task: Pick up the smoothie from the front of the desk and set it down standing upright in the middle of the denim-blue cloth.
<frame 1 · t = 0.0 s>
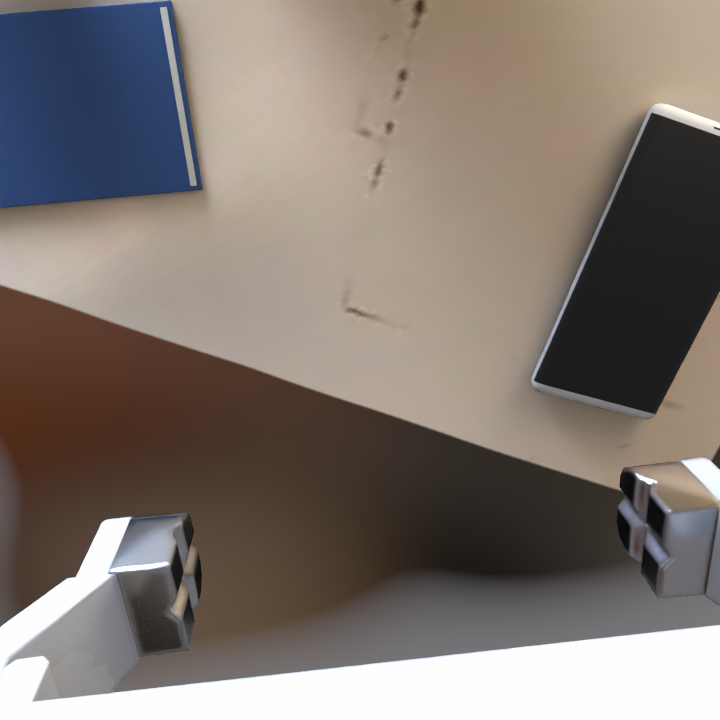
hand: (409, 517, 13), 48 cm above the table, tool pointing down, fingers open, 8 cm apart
smartphone: (645, 272, 62), on the table
cloth: (48, 111, 53), on the table
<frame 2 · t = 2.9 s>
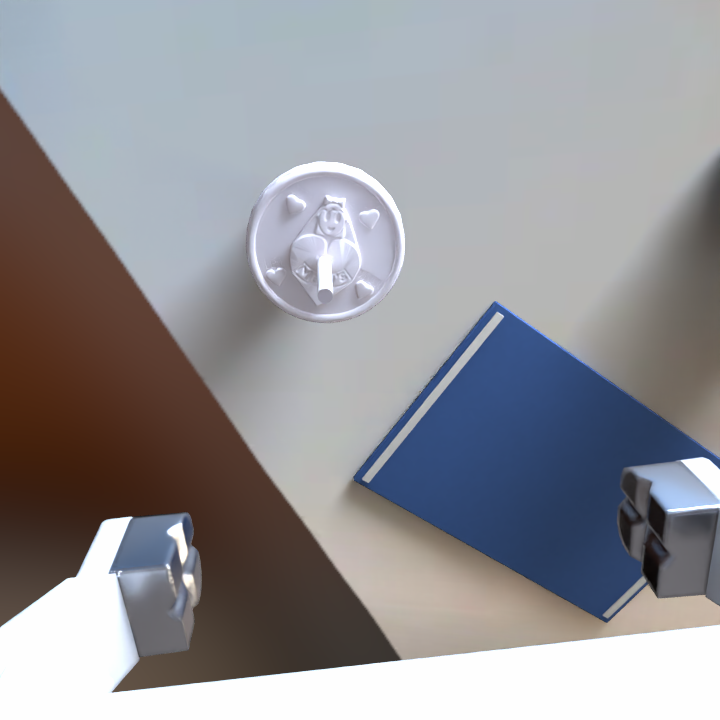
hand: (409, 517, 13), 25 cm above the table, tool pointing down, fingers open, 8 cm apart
smoothie: (323, 202, 36), on the table
cloth: (556, 478, 43), on the table
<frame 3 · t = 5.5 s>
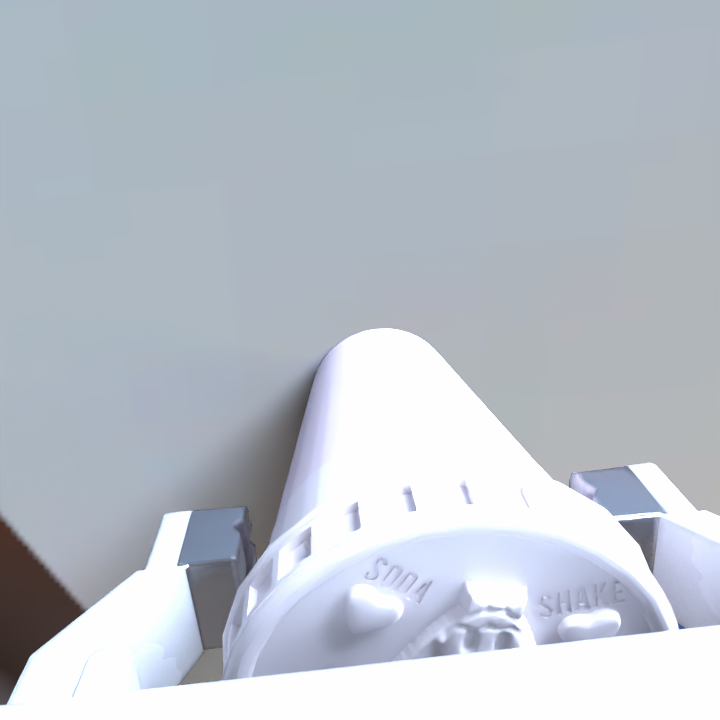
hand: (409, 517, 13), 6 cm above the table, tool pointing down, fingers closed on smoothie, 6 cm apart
smoothie: (380, 390, 18), on the table, touching gripper
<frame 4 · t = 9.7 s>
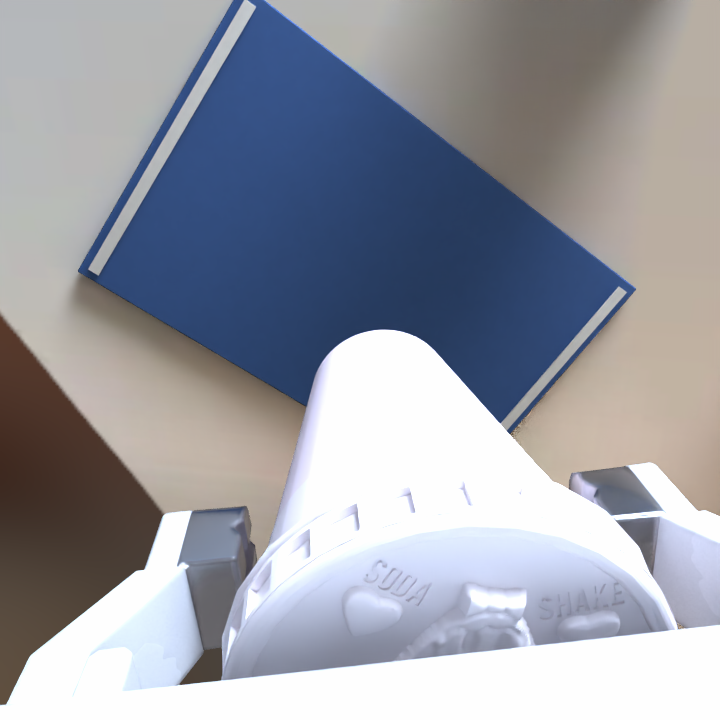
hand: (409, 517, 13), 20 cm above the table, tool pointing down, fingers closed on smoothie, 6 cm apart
smoothie: (380, 391, 18), point 14 cm above the table, touching gripper
cloth: (366, 278, 32), on the table
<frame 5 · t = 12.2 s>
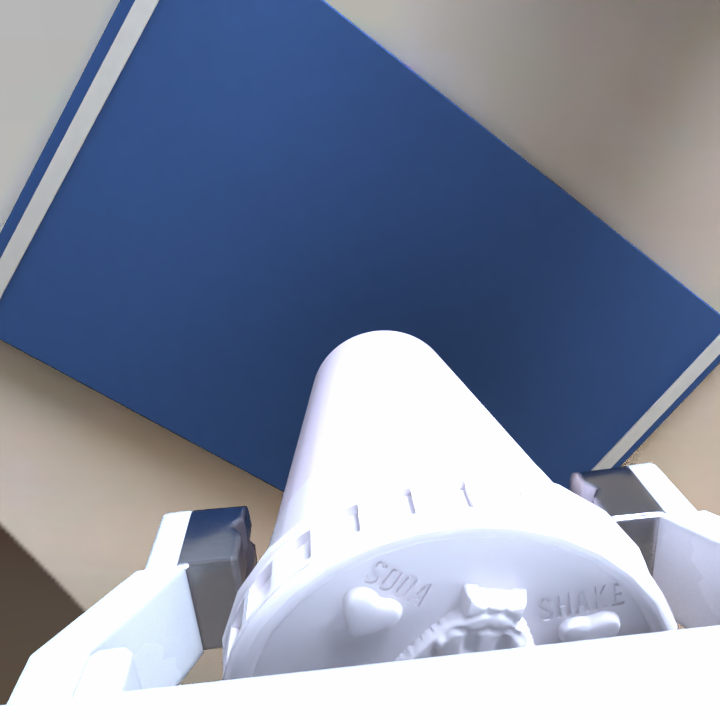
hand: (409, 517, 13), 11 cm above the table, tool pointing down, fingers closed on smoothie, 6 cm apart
smoothie: (380, 391, 18), point 5 cm above the table, touching gripper
cloth: (369, 322, 23), on the table
when the fingers open (6 cm above the table, at t = 14.1 s): smoothie stays where it is, resting on cloth.
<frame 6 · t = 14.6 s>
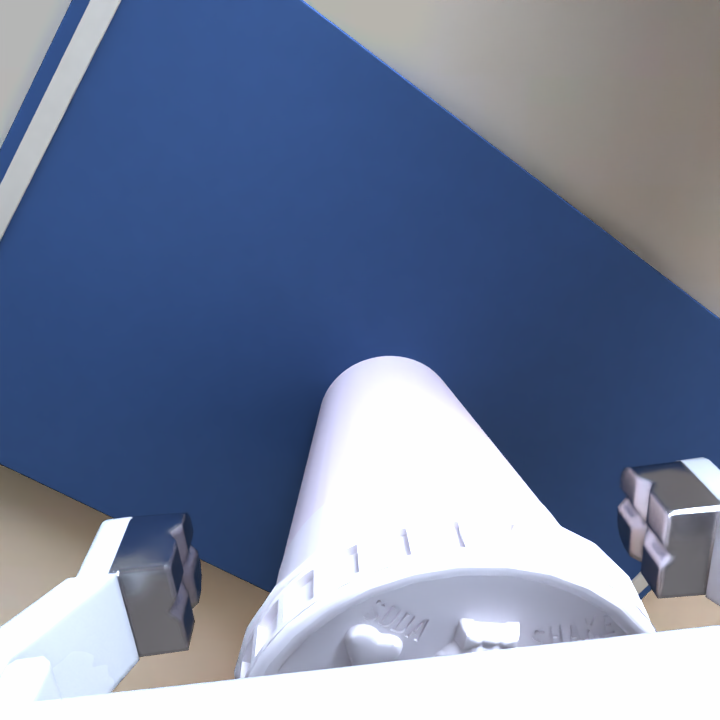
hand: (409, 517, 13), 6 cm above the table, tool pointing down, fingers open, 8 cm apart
smoothie: (386, 414, 19), resting on cloth
cloth: (380, 400, 19), on the table
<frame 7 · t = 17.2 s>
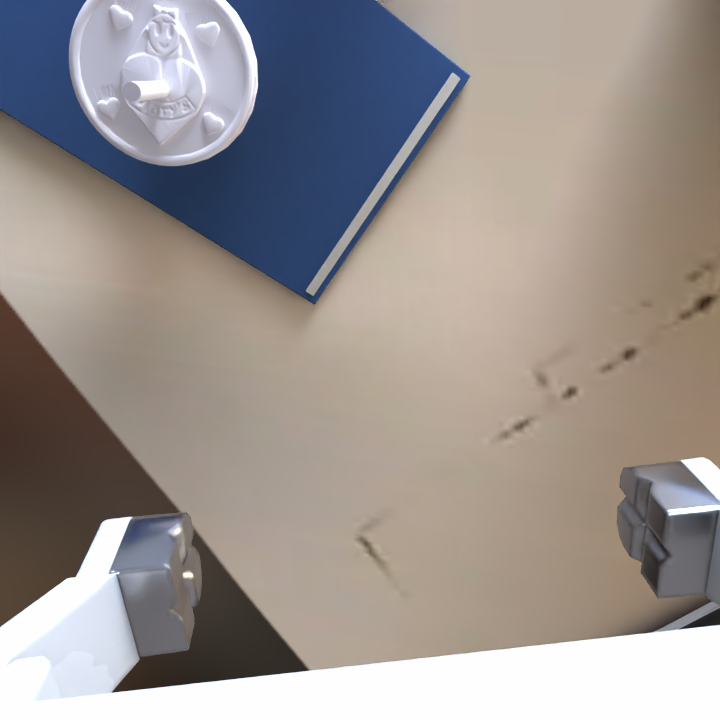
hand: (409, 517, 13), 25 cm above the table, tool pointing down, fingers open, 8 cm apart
smoothie: (203, 73, 32), resting on cloth
smartphone: (667, 685, 51), on the table
cloth: (201, 65, 32), on the table
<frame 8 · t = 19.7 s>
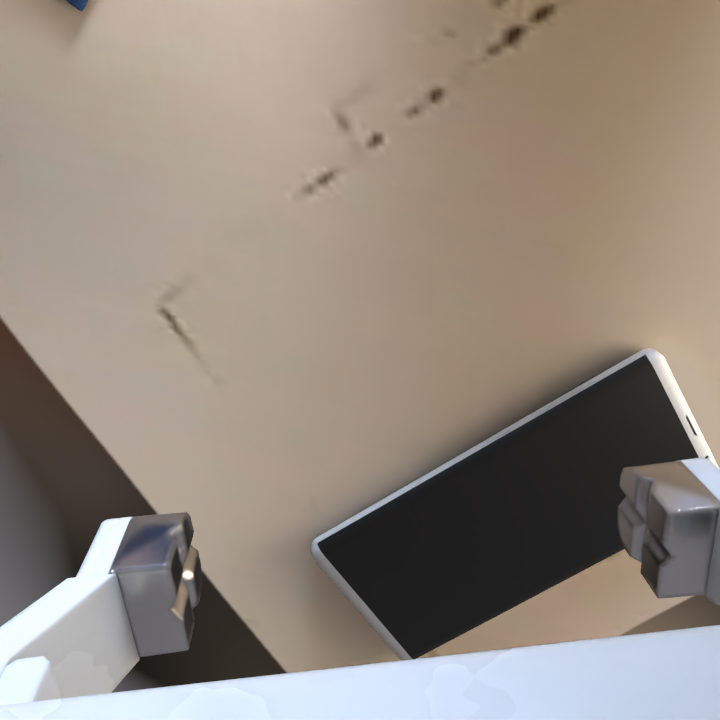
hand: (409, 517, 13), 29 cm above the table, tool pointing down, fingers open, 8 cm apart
smartphone: (513, 507, 48), on the table
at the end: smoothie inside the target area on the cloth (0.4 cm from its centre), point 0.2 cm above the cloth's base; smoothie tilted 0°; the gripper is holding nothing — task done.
